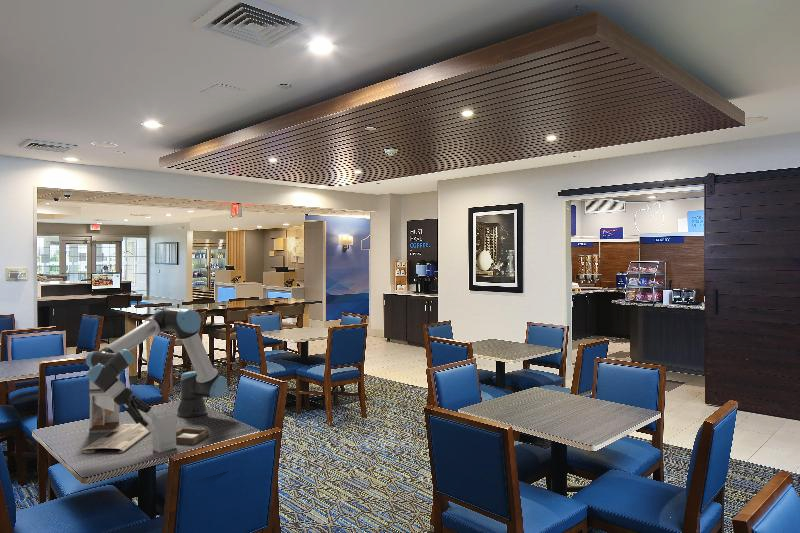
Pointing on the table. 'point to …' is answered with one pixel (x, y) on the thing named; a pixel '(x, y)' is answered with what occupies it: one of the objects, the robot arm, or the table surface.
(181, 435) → the walnut tray
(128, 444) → the newspaper
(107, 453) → the table surface
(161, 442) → the skincare box
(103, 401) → the paper towel dispenser
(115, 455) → the table surface
